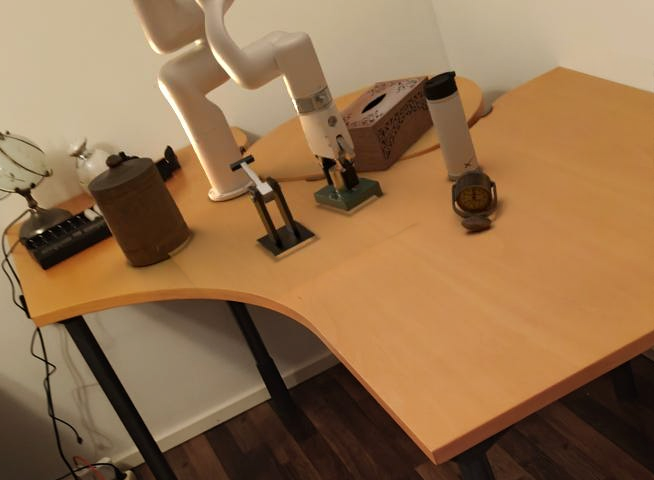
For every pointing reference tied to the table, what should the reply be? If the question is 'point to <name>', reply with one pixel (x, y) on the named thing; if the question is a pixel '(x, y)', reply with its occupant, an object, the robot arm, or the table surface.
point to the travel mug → (450, 124)
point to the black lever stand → (292, 230)
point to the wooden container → (139, 210)
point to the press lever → (254, 178)
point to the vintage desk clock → (474, 198)
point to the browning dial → (337, 178)
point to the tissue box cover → (386, 122)
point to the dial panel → (348, 194)
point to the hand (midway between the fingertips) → (343, 183)
